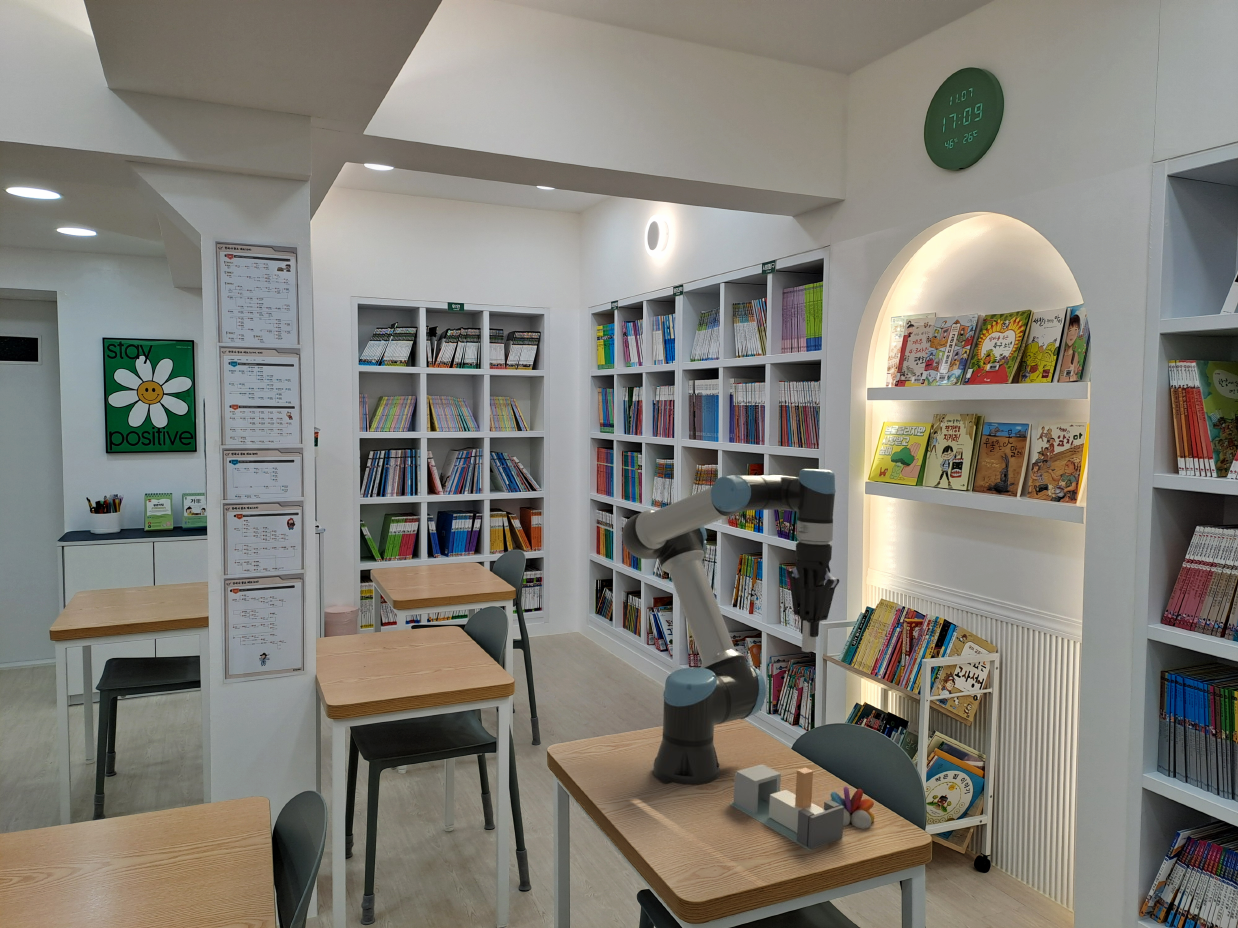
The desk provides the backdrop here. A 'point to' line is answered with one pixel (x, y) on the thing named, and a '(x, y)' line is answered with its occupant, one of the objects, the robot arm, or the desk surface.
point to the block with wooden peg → (793, 801)
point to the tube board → (811, 829)
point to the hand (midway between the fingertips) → (808, 650)
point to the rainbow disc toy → (855, 808)
